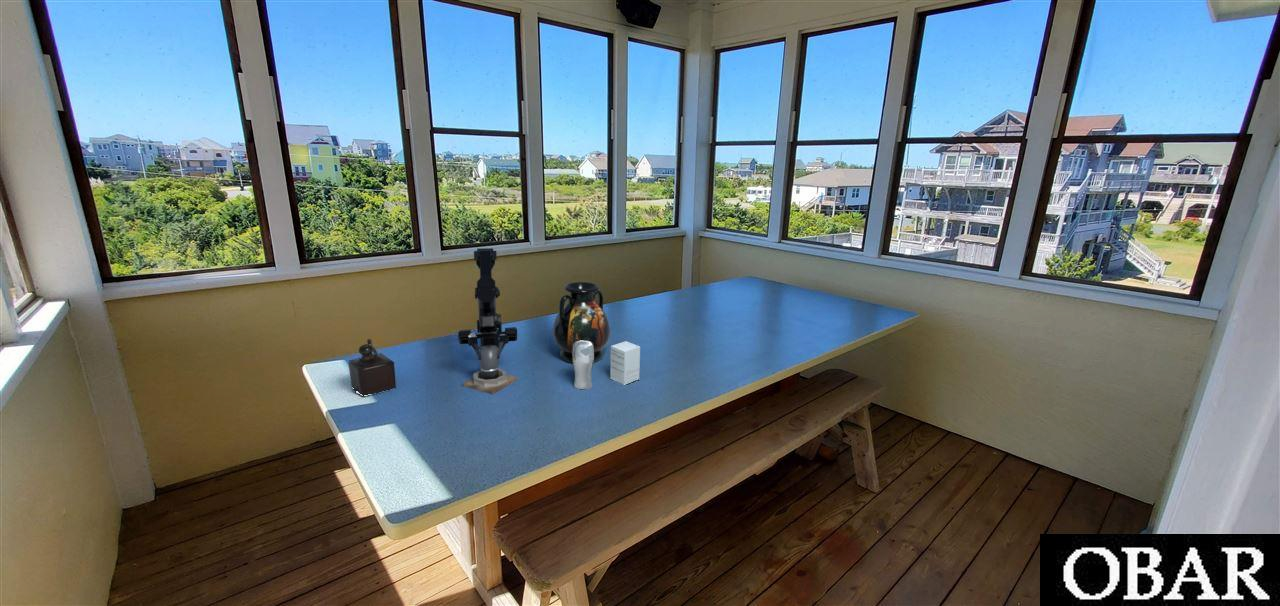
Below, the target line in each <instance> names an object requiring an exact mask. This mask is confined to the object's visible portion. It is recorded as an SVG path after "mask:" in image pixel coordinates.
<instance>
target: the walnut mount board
mask: <svg viewBox="0 0 1280 606" xmlns="http://www.w3.org/2000/svg"><path fill="white" fill-rule="evenodd" d="M472 375H473V376H472V377H471V378H469V379H468V380H466V381H464V382H462V387H465V386H466V388H469V389H473V390H475V391H476V390H477V391H480V392H484V393H488V394H491V395H494V394H496V393H497V392H499V391H501V390H503V389H504V388H505V387H507V386H509V385H511V384H513V383H514V382H516V381H517V380H518V376H514V375H509V374H507V370H505V369H501V368H499V377H498V378H496V379H489V380H485V379H482V378H481V369H480V370H477V371H476V372H474V373H472Z"/></svg>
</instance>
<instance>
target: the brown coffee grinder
mask: <svg viewBox="0 0 1280 606" xmlns="http://www.w3.org/2000/svg"><path fill="white" fill-rule="evenodd" d="M372 341H373V340H372V339H371V338H369V339H367V341H366V342H367V343H364V344H362V345H360V346H359V348H358V353H359V354H360V355H361V356H360V357H358V358H353V359H350V360H348V369H349V371H348V372H349V377H350V378H349V379H350V387H351V386H352V387H353V388H354V389H352V390H354V391H355V392H354V391H353V392H354V393H356V391H358V392H359V393H360V394H362V395H363V396H364V395H368V394H374V393H379V392H382V391H386V390H390V389H393V388H395V389H397V385H396V383H397V382H396V368H395V361H393V360H392V359H390V358H389V357H388V356H386V355H384V354H383V353H382V352H378V351H377V349H376V348H375V347H374V346H373V343H372ZM393 390H394V389H393ZM390 391H391V390H390ZM379 394H380V393H379Z"/></svg>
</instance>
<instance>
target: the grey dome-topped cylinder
mask: <svg viewBox="0 0 1280 606" xmlns="http://www.w3.org/2000/svg"><path fill="white" fill-rule="evenodd" d="M479 347H480V346H479ZM479 351H480V360H479V362H480V370H481V378H482V379H485V380H489V379H496V378H498V377H499V369H500V368H499V366H500V365H499V359H498V347H497V346H495V345H485V346H482V347H480V349H479Z"/></svg>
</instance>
